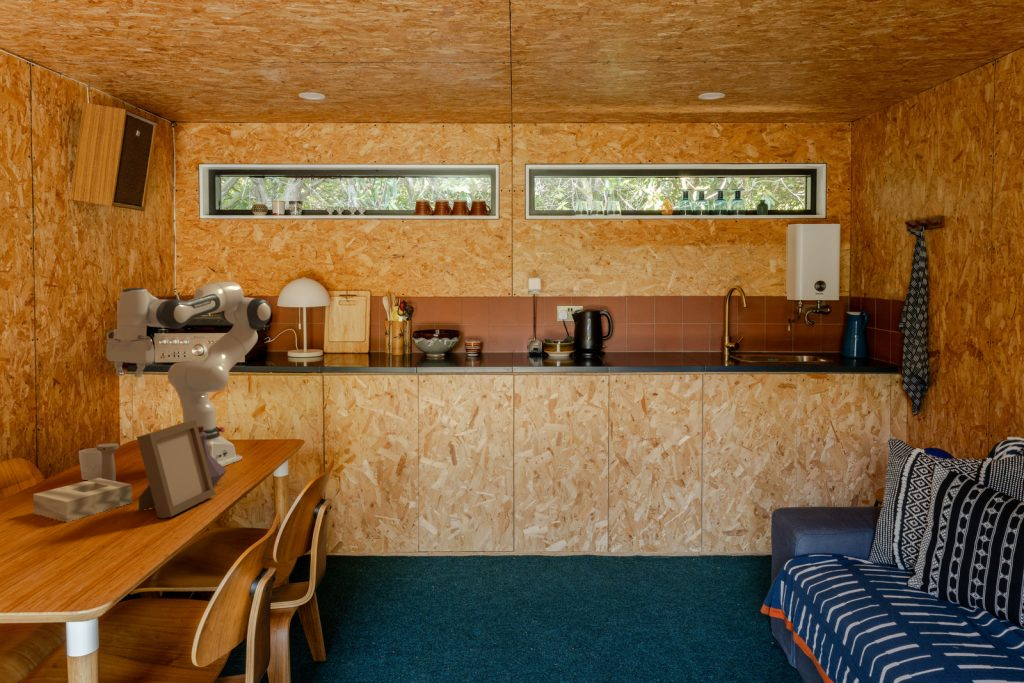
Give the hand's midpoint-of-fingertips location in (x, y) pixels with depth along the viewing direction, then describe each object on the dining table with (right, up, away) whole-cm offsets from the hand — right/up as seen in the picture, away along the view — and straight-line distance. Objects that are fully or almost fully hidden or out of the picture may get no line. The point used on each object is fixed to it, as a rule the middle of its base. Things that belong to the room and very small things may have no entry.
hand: (128, 376), depth 243 cm
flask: (+24, -37, +2) cm, 44 cm away
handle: (-4, -38, -4) cm, 38 cm away
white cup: (-17, -36, +9) cm, 41 cm away
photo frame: (+25, -39, -22) cm, 51 cm away
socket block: (-1, -39, -24) cm, 46 cm away
